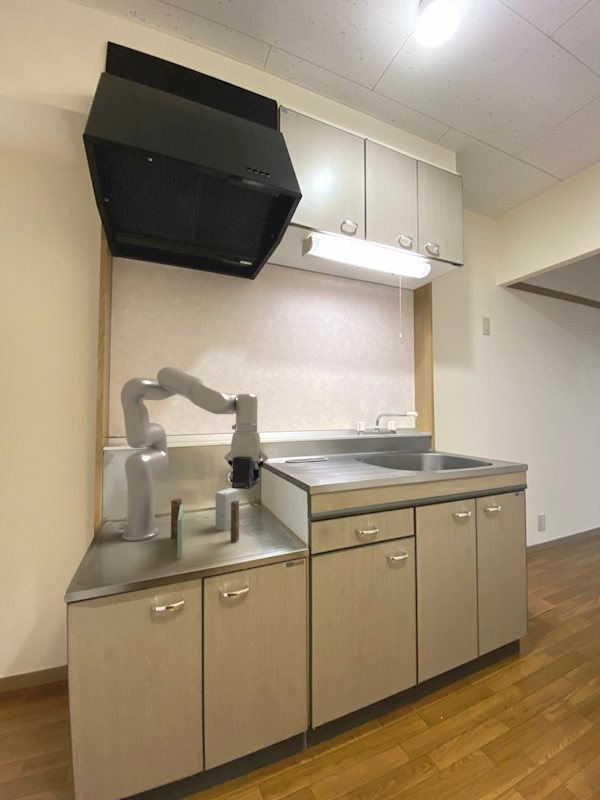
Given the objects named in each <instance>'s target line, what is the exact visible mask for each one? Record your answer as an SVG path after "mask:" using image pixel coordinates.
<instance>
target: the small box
mask: <svg viewBox="0 0 600 800" xmlns="http://www.w3.org/2000/svg"><path fill="white" fill-rule="evenodd" d="M258 461H259V462H260V459H259V460H258ZM254 469H255V466H254V462H252V458H250V457H234V458H233V469H232V482H231V488H232V489H238V490H240V489H241V490H243V489H244V490H249V489H251V488H253V487H254V486H255V485H257V484H258V483H259V481H260V480H259V479H260V477H259V478H258V479H257V480H256V481H254Z"/></svg>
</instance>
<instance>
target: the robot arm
mask: <svg viewBox="0 0 600 800" xmlns="http://www.w3.org/2000/svg"><path fill="white" fill-rule="evenodd" d="M175 395H179V396H181V397H183V398H185V399H188V401H190V403H193V405H195V406H196V407H198V408H200V409H202V410H204V411H207V412H209V413H212V414H214V415H235V424H233V425H231V429H232V430H234V431H235V432H233V433H232V436H231V446H230V451H229V452H228V453H227V454H225V456H223V459H224V460H225V461H226V462H227V463H228V465H229V466H230V467H231V469H232V470H233V458H234V457H250V458H252V462H254V466H255V469H254V481H256V480H257V479H258V478H259V479H260V468H261V467H262V466H263V465H265V463H266V462H267V461H268V460H269V456H267V455H266V454H265V453H264V452H263V451H262V446H261V445H262V444H261V437H260V432H258V396H257V395H256V394H253V393H240V394H239V393H238V394H236V393H227V392H219V391H217V390H215V389H213V388H209V387H208V386H206V385H204V384H203V380H201V379H200V378H198V377H196V376H193V375H191V373H189V371H188V370H186V369H183V368H178V367H172V366H165V367H163V368H161V369H160V370H159V371H158V372H157V374H156V379H155V378H150V377H149V378H147V377H133V378H130V379H129V380H126V382H125V383H124V384H123V386H122V388H121V390H120V402H121V406H122V412H123V417H124V428H125V439H126V443H127V445H128V446H129V447H130V448H132V449H142V448H146V450H143V451H137V452H135V453H134V452H133V453H132V454H131V455H128V457H127V459H126V460H125V462H124V471H125V476H126V482H127V483H126V484H127V486H126V487H127V491H126V493H127V507H126V511H127V513H126V514H127V515H126V521H127V522H123V521H122V522H119V526H118V530H123V531H124V532H123V533H122V535H121V537H122V539H123V541H129V542H131V541H132V542H137V541H142V540H148V539H151V538H154V537H155V536H157V535H158V534H159V533H160V532H159V531H160V529H159V527H157V526H155V525H156V523H155V522H156V521H155V519H156V514H155V513H156V512H155V511H156V506H155V505H156V503H155V502H156V485H155V482H154V479H153V477H152V475H154V474H157V473H160V472H163V471H164V470H165V469H166V468H168V465H169V461H170V460H169V450H168V449H169V448H168V440H167V439H168V438H167V434H166V431H165V428H164V427H163V426H162V425H160V424H159V423H157V422H150V417H149V411H148V408H147V406H146V405H145V403H144V401H145V400H146V401H162V400H166V399H169V398H171V397H173V396H175ZM261 458H262V460H261ZM258 460H259V461H258ZM260 460H261V461H260Z"/></svg>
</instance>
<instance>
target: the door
mask: <svg viewBox="0 0 600 800" xmlns="http://www.w3.org/2000/svg"><path fill="white" fill-rule="evenodd" d="M184 505H185V504H184V503H181V504H180V509H179V515H178V527H174V533H177V532H178V539H177V559H181V558H182V554H183V545H184V533H185V532H184V528H185V527H184V526H185V525H184V519H185V517H184V516H185V515H184V514H185V513H184V512H185V510H184V507H185V506H184Z"/></svg>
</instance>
